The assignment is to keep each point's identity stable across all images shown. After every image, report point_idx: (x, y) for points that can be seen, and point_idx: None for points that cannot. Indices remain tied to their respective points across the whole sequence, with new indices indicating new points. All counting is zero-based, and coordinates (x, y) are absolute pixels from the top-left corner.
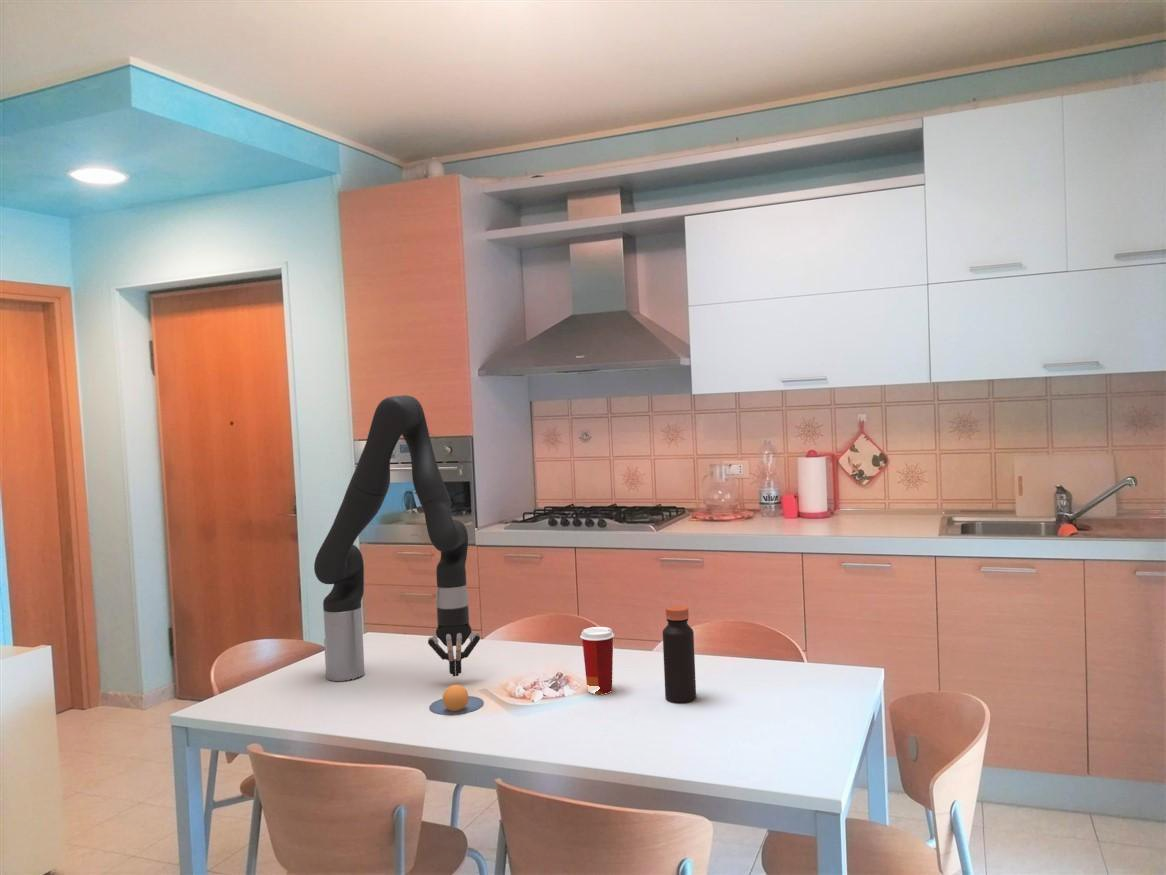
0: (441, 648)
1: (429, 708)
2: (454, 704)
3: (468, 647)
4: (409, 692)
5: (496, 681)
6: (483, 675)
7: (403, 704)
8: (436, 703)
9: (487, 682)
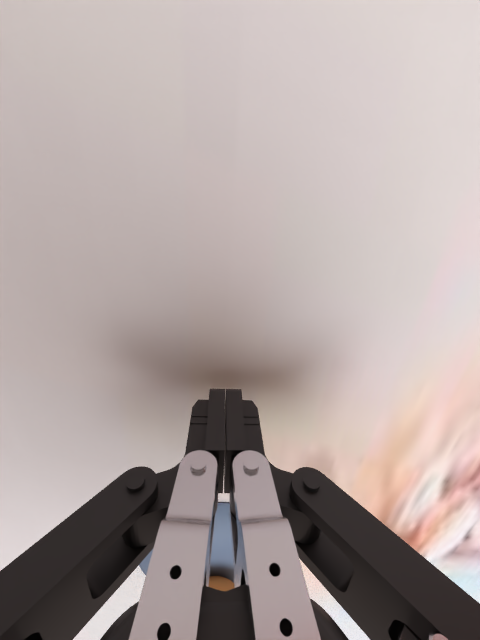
0: (98, 557)
1: (139, 565)
2: None
3: (340, 603)
4: (31, 424)
5: (389, 396)
6: (364, 299)
7: (46, 519)
8: None
9: (352, 398)
